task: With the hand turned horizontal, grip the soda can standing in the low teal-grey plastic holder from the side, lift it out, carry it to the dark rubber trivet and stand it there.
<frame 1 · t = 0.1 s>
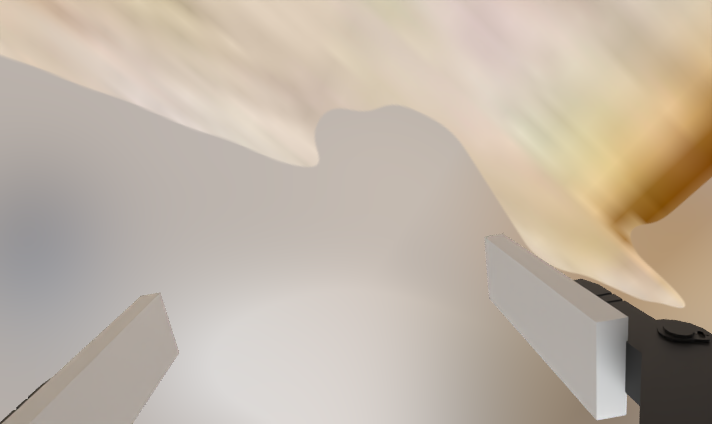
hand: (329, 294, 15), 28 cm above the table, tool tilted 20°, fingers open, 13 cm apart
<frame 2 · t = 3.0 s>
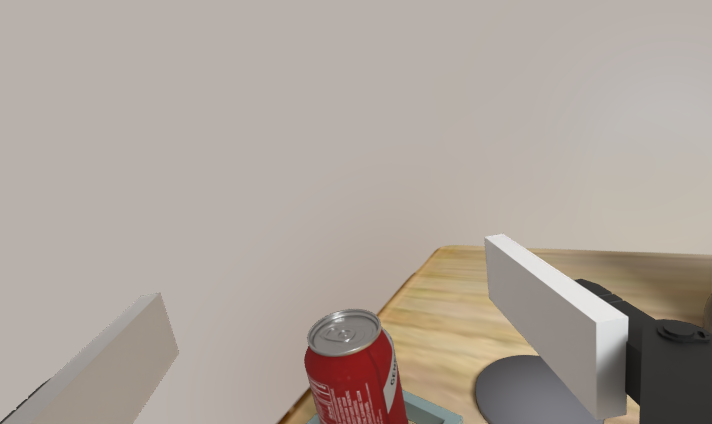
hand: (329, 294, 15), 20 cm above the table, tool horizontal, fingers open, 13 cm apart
trivet: (536, 400, 33), on the table
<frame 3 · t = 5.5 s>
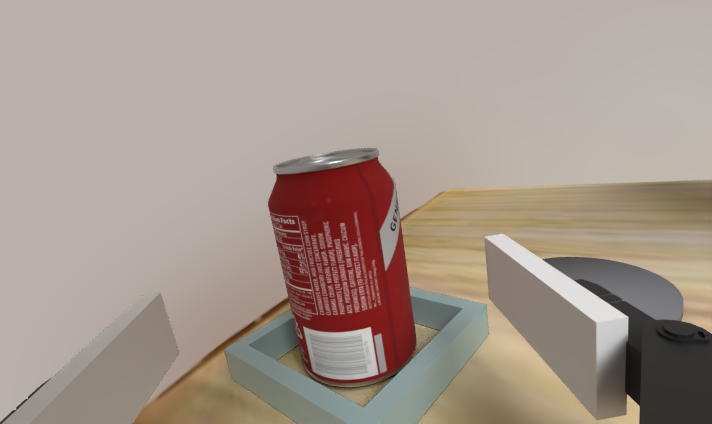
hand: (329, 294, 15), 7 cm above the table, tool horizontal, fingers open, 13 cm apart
trivet: (581, 298, 25), on the table
soda can: (361, 359, 22), resting in holder
holder: (361, 356, 22), on the table
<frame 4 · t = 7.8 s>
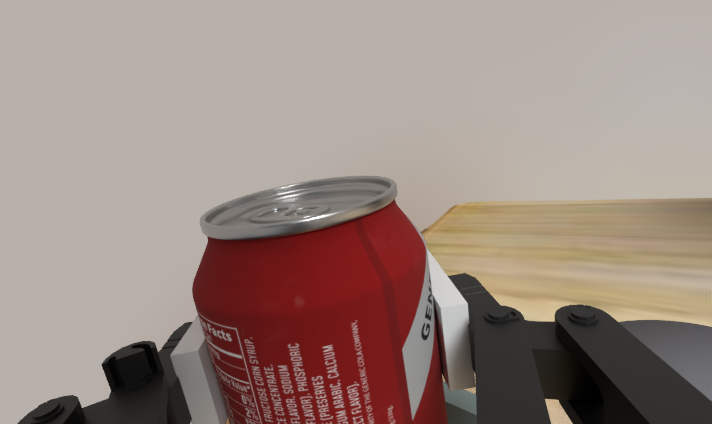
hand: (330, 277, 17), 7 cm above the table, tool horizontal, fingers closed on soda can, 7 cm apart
trivet: (702, 400, 16), on the table
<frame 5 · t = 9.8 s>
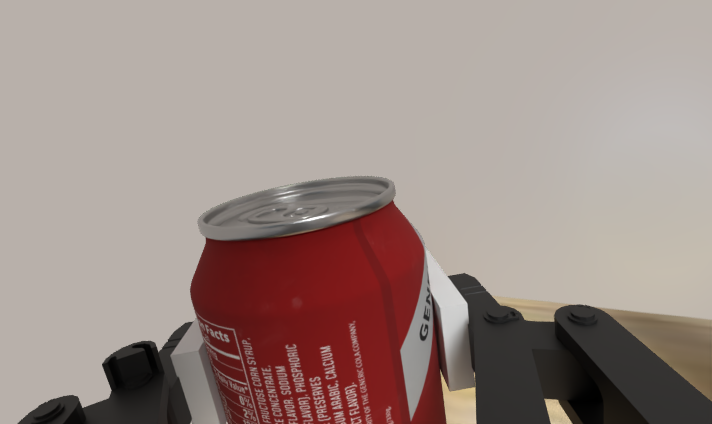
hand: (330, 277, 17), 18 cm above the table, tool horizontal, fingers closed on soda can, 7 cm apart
when the fingers open (9 cm above the table, at t = 12.2 s): soda can drops 1 cm, resting on trivet.
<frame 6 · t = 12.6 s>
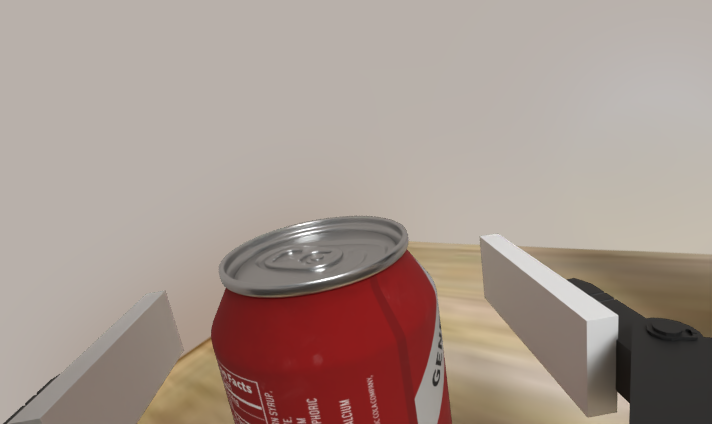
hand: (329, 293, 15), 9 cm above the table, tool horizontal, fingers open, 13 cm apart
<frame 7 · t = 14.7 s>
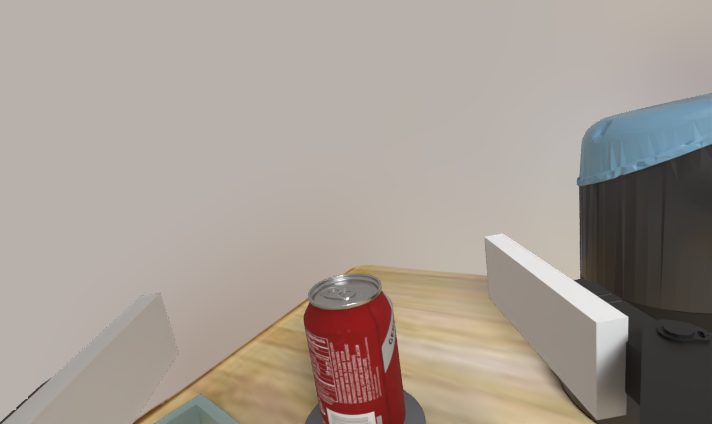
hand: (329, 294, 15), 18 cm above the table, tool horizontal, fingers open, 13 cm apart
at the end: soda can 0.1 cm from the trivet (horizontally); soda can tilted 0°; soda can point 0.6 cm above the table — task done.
